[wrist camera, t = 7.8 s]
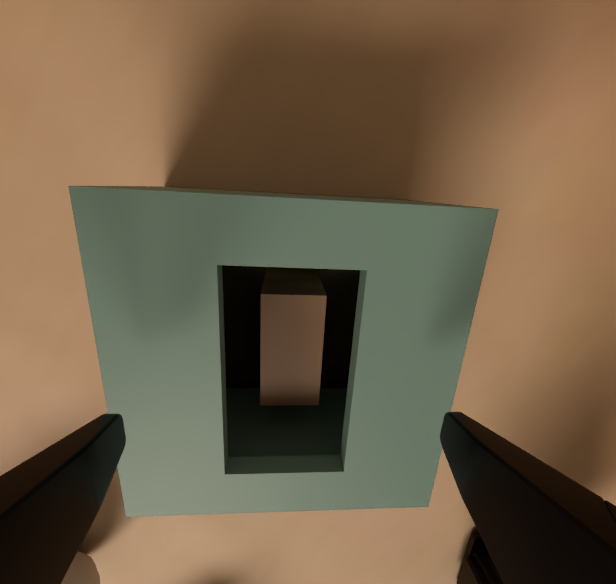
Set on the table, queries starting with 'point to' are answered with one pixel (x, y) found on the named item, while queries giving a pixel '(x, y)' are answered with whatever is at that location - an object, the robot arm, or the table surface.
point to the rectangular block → (291, 336)
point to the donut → (82, 571)
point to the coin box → (246, 401)
